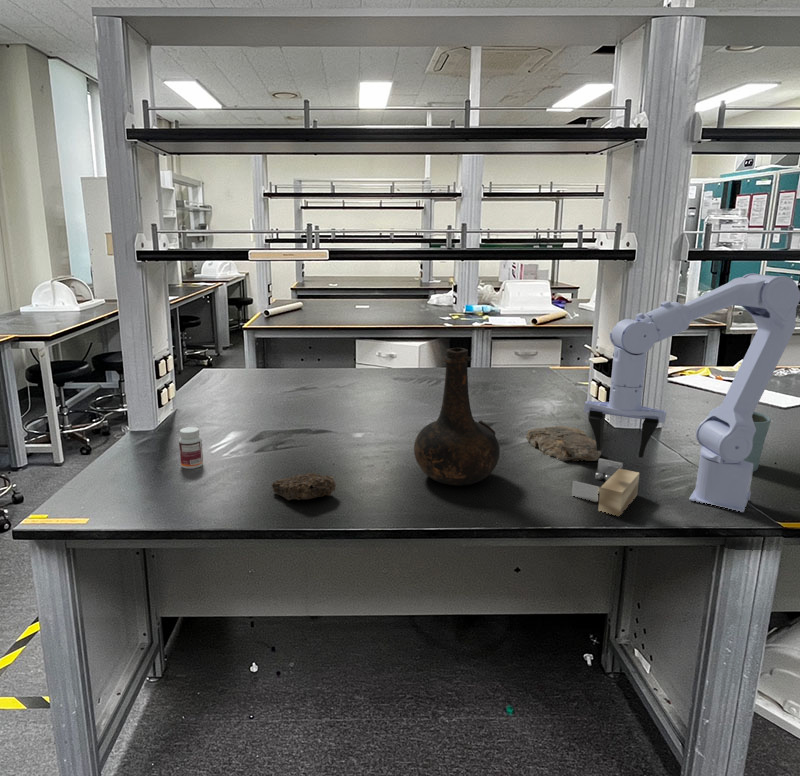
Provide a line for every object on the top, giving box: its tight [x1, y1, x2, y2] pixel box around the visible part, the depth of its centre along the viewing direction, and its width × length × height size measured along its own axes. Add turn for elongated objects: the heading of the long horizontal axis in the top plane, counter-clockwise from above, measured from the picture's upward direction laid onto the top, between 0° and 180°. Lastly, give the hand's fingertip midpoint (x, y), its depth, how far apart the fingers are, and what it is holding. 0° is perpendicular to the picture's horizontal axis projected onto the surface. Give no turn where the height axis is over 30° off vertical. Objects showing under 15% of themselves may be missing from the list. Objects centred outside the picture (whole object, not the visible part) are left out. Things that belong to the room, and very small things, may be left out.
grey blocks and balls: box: [570, 457, 624, 503], centre depth 126 cm, size 5×17×3 cm, turn 144°
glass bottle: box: [413, 347, 501, 486], centre depth 127 cm, size 18×18×28 cm
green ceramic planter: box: [744, 411, 772, 472], centre depth 137 cm, size 10×10×12 cm
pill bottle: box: [178, 426, 204, 470], centre depth 135 cm, size 5×5×8 cm
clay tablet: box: [525, 426, 602, 462], centre depth 147 cm, size 14×5×20 cm
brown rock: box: [271, 472, 337, 501], centre depth 120 cm, size 12×10×5 cm
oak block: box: [597, 468, 640, 517], centre depth 118 cm, size 4×12×5 cm, turn 145°
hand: (620, 452), depth 117 cm, fingers open, 7 cm apart
